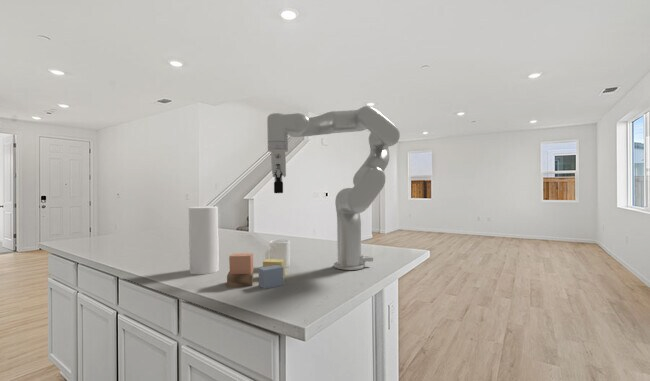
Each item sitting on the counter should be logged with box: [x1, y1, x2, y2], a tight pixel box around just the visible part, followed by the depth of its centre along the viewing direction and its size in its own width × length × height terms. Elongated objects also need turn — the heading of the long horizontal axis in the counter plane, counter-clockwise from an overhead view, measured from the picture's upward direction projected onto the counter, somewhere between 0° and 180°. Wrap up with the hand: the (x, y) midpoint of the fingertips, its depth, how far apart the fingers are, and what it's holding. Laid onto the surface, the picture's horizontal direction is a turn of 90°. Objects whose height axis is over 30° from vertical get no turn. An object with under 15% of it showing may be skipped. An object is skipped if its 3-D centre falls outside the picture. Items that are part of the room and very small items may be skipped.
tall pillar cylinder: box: [188, 205, 220, 275], centre depth 127 cm, size 11×11×25 cm
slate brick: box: [258, 265, 284, 290], centre depth 108 cm, size 7×4×6 cm, turn 124°
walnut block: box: [226, 270, 254, 288], centre depth 110 cm, size 8×6×4 cm
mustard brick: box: [262, 258, 286, 278], centre depth 118 cm, size 7×4×6 cm, turn 79°
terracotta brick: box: [228, 252, 254, 274], centre depth 110 cm, size 7×4×6 cm, turn 91°
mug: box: [265, 239, 291, 269], centre depth 132 cm, size 12×8×10 cm
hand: (278, 192), depth 123 cm, fingers open, 9 cm apart
